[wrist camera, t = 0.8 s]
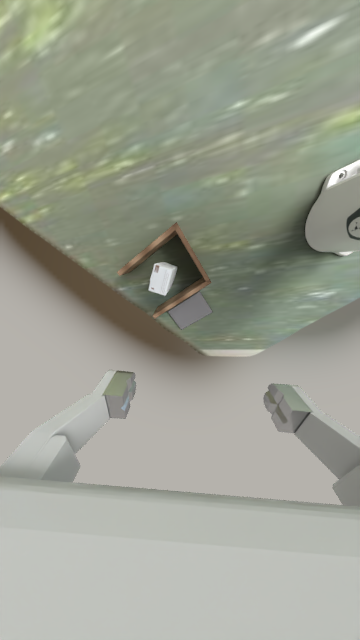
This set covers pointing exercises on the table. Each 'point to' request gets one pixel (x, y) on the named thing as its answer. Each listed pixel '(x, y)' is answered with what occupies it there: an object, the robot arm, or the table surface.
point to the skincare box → (162, 277)
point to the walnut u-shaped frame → (153, 248)
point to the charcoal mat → (190, 310)
